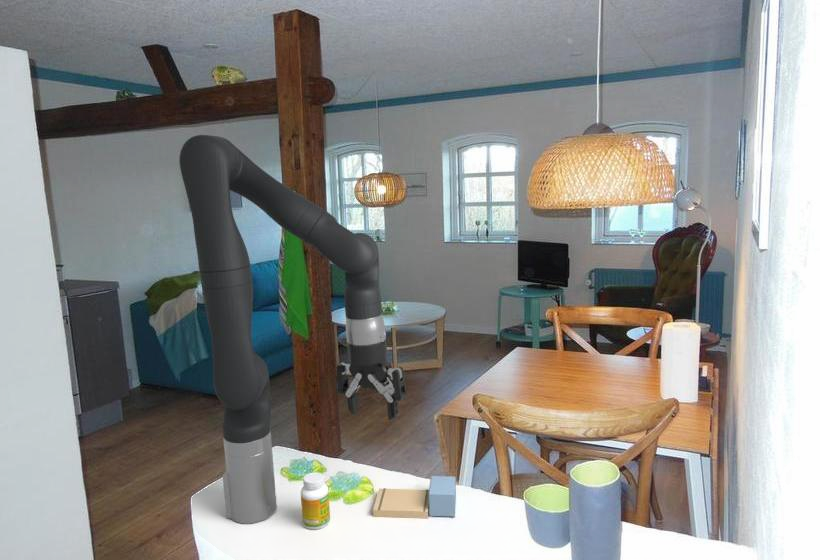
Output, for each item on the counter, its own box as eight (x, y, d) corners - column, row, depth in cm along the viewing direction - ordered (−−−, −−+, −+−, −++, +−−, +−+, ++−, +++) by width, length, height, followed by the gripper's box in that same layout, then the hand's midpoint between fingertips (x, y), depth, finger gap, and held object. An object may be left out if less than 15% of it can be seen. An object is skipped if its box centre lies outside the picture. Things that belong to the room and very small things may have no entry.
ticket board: (373, 516, 119) (373, 509, 119) (379, 494, 127) (379, 488, 126) (428, 518, 118) (427, 511, 117) (430, 496, 126) (430, 489, 125)
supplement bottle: (324, 531, 115) (321, 485, 113) (298, 529, 116) (295, 483, 114) (333, 515, 120) (331, 471, 118) (308, 513, 121) (305, 469, 119)
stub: (428, 515, 118) (428, 494, 117) (431, 496, 125) (430, 476, 124) (454, 516, 118) (454, 495, 117) (455, 497, 124) (455, 476, 124)
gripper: (324, 341, 114) (333, 419, 118) (389, 346, 108) (397, 428, 111) (345, 329, 121) (352, 404, 124) (407, 334, 115) (414, 412, 118)
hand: (373, 415), depth 118 cm, fingers open, 8 cm apart
